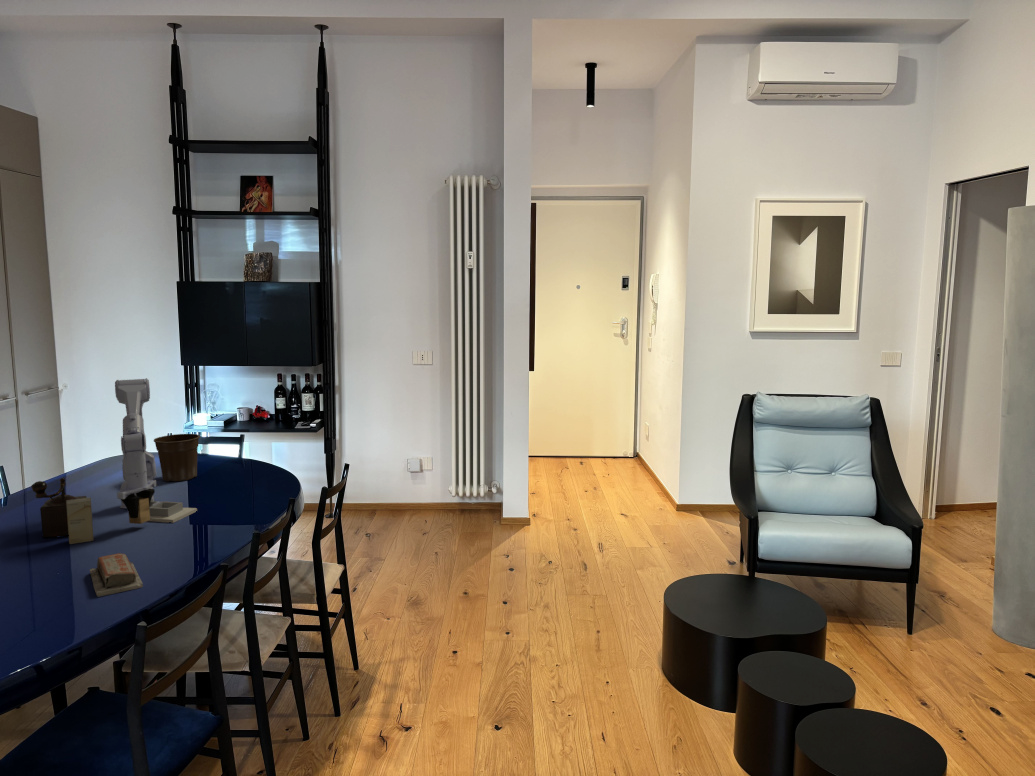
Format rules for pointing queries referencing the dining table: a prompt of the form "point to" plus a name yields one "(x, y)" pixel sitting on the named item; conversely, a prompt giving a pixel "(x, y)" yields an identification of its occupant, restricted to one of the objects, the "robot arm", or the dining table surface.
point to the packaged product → (114, 575)
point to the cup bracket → (168, 511)
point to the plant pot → (178, 456)
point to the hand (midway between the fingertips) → (139, 515)
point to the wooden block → (142, 512)
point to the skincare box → (79, 520)
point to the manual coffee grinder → (54, 509)
